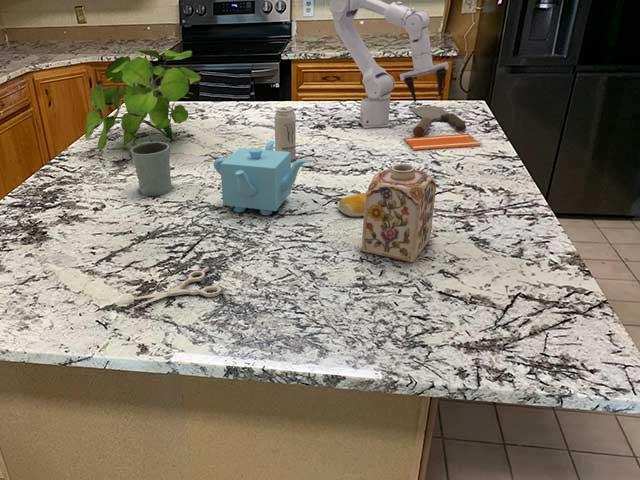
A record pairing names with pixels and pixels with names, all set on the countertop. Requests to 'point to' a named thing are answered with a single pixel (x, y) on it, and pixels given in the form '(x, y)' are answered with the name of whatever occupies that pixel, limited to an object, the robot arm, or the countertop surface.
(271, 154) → the teakettle
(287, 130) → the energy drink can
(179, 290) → the scissors
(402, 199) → the decorative jar
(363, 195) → the bread roll
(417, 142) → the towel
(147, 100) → the indoor plant
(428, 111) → the cleaver
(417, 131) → the rolling pin
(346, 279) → the countertop surface
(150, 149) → the grey cup
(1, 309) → the countertop surface
